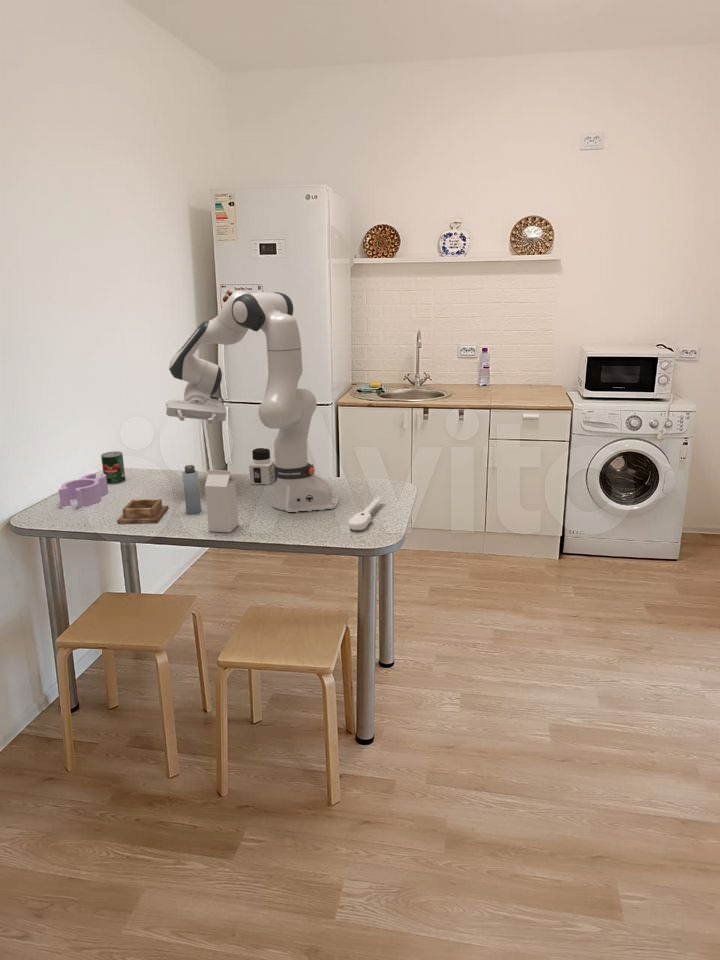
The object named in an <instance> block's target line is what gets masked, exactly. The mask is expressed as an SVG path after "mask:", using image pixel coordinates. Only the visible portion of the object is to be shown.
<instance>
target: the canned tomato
mask: <svg viewBox="0 0 720 960" xmlns="http://www.w3.org/2000/svg"><path fill="white" fill-rule="evenodd" d="M100 457H101V458H100V459H101V465H102V474H106V479H107V485H118V484H123V483H124V482H126V473H125V472H126V471H125V463H124V455H123V452H122V451H108V452H103V453H101V454H100Z"/></svg>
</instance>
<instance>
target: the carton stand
mask: <svg viewBox="0 0 720 960" xmlns="http://www.w3.org/2000/svg"><path fill="white" fill-rule="evenodd" d="M169 509H170V507H169V505H163V501H162V498H155V499H154V498H153V499H152V498H151V499H150V498H149V499H131V500H130V501H129V502H128V503H127V504H126V505H125V506H124V507H123V508H122V515H121V516H120V517H119V518H118V519H117V520H116V524H117V523H118V524H117V525H132V524H133V525H136V524H139V525H141V524H158V523H159V522H160V521H161V520H162V518H163V517H164V516H165V514H166V513H167V512H168V510H169ZM166 511H167V512H166ZM163 515H164V516H163Z"/></svg>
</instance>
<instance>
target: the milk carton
mask: <svg viewBox="0 0 720 960" xmlns="http://www.w3.org/2000/svg"><path fill="white" fill-rule="evenodd" d="M204 490H205V491H204V492H205V501H206V502H205V504H206V513H207V514H206V515H207V525H208V532H214V533H215V532H216V533H231V532H232V531H233V530H235V528H237V526H239V516H238V515H239V514H238V502H237V490H236V479H235V478H234V477H233V476H232V473H231V470H222V469H221V470H218V469H217V470H216V469H208V470H207V477H206V480H205V484H204Z"/></svg>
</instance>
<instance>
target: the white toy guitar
mask: <svg viewBox="0 0 720 960" xmlns="http://www.w3.org/2000/svg"><path fill="white" fill-rule="evenodd" d="M382 500H384V497H383V496H375V497H374V498H373V500H372V501H371V502H370V503H369V504H368V505H367V506H366V508H365V509H364V510H362V511H360V512H359V511H358V512H357V513H355V514H354V515H353V516H351V518H349V520H348V528H349V530H350V529H352V530H351V531H358V530H359V531H363V530H365V529H366V528H367V527H368V526H369V525H370V524H371V523H372V522H371V521H372V514H371V513H370V512H371V511H372V510H373V509H374V508H375V507H376V506H377V505H378V504H379V502H381V501H382ZM370 522H371V523H370ZM369 523H370V524H369Z"/></svg>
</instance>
